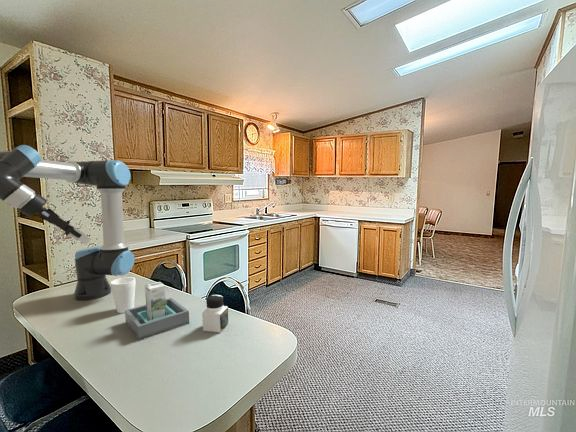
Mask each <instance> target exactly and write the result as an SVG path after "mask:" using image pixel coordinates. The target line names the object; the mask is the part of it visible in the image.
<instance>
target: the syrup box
mask: <svg viewBox="0 0 576 432" xmlns="http://www.w3.org/2000/svg"><path fill="white" fill-rule="evenodd" d="M144 291H145V292H144V293H145V294H144V295H145V305H146V310H147V320H148V321H150V320H153V319H157V318H160V317H163V316H167V313H166V299H167V297H166V295H167V294H166V285H165V284H164V283H162V282H161V281H156V282H153V283H149V284H145V285H144Z"/></svg>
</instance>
